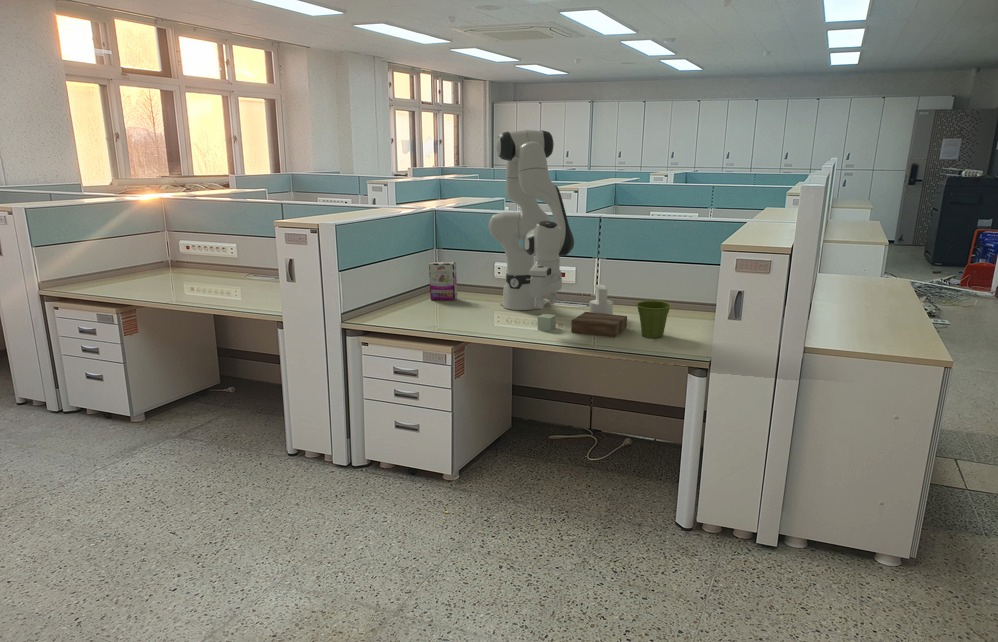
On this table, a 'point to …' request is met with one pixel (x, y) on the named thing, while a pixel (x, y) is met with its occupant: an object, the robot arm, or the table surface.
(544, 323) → the sage cube
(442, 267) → the candy bar box
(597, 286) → the base with upright slab
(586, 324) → the walnut block
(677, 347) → the table surface
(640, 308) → the plant pot
